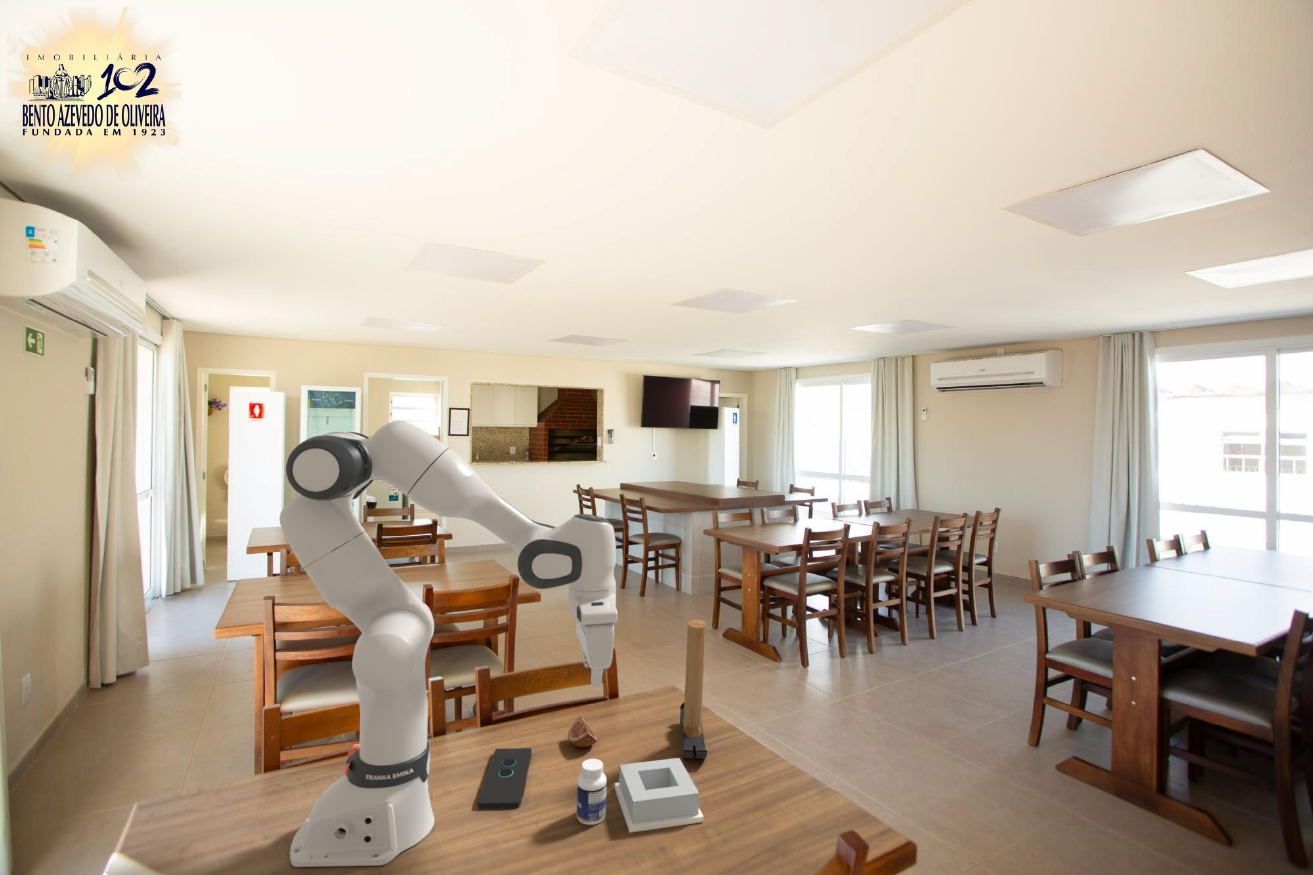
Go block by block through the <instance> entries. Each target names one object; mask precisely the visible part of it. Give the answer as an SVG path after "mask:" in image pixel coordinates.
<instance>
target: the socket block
mask: <svg viewBox="0 0 1313 875" xmlns="http://www.w3.org/2000/svg"><path fill="white" fill-rule="evenodd" d="M614 791H615V793H616V797H617V799H618V802H619V805H620V809H621V812H622V814H623V818H624V820H625V824H626V826H627V830H628V832H629V833H630V834H631V833H635V832H643V831H651V830H658V829H663V828H671V827H677V826H683V825H684V826H685V825H690V824H691V825H692V824H697V823H698V824H700V823H704V822H705V821H704V820H705V819H704V818H705V817H704V815H703V812H702V811H701V809H700V802H699V801H700V792H699V789H698V788H697V787H696V785H695V783H694V782H693V780H692V778H691V776H690V775H689V772H688V771H687V769H686V768H685V766H684V764H683V761H682V760H681V758H680V757H675V758H667V759H659V760H650V761H642V762H641V761H640V762H633V763H623V764H619V780H618V782H614Z"/></svg>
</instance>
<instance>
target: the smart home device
mask: <svg viewBox="0 0 1313 875" xmlns="http://www.w3.org/2000/svg"><path fill="white" fill-rule="evenodd" d="M532 753H533V752H532V748H531V747H524V748H523V747H520V748H519V747H518V748H517V747H514V748H511V747H510V748H496V749H494V752H493V754H492V757H491V760H490V764H489V766H488V770H487V773H486V776H485V777H484V782H483V784H482V787H481V790H480V793H479V797H478V799H477V809H478V810H499V809H500V810H501V809H502V810H503V809H520V807H521V805H522V799H523V797H524V793H525V789H526V785H527V778H528V773H529V769H530V764H531V759H532Z"/></svg>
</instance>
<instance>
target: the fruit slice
mask: <svg viewBox="0 0 1313 875" xmlns="http://www.w3.org/2000/svg"><path fill="white" fill-rule="evenodd" d="M567 739H568V741H569V742H570V743H571V744H572V745H574V746H577V747H579V748H586V747H590V746H592V745H595V743H597V742H598V737H597V735H596V733H595V732H594V731H593V729H592V727H591V725H589V723H588V722H587V721H586V720H585V719H584V717H582V716H579V717H578V718H577V719H576V720H574V722H573V723H572V725H571V726H570V727H569V730H568V732H567Z"/></svg>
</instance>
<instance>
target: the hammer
mask: <svg viewBox="0 0 1313 875" xmlns="http://www.w3.org/2000/svg"><path fill="white" fill-rule="evenodd" d="M706 632H707V623H706V622H705V621H704V620H702V619H692V620H689V621H688V622H687V635H686V636H687V637H686V656H685V658H686V659H685V680H684V681H685V682H684V701H683V702H682V703H681V705H680V708H679V711H680V714H679V715H680V716H679V717H680V718H679V728H680V740H681V748H682V756H683V759H694V758H695V759H701V760H702V759H706V758H707V755H708V750H706V744H705V738H704V737H705V736H704V730H703V729H704V727H703V721H702V720H703V719H702V716H703V714H702V712H703V693H704V675H705V654H706V653H705V652H706V636H707V633H706Z"/></svg>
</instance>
